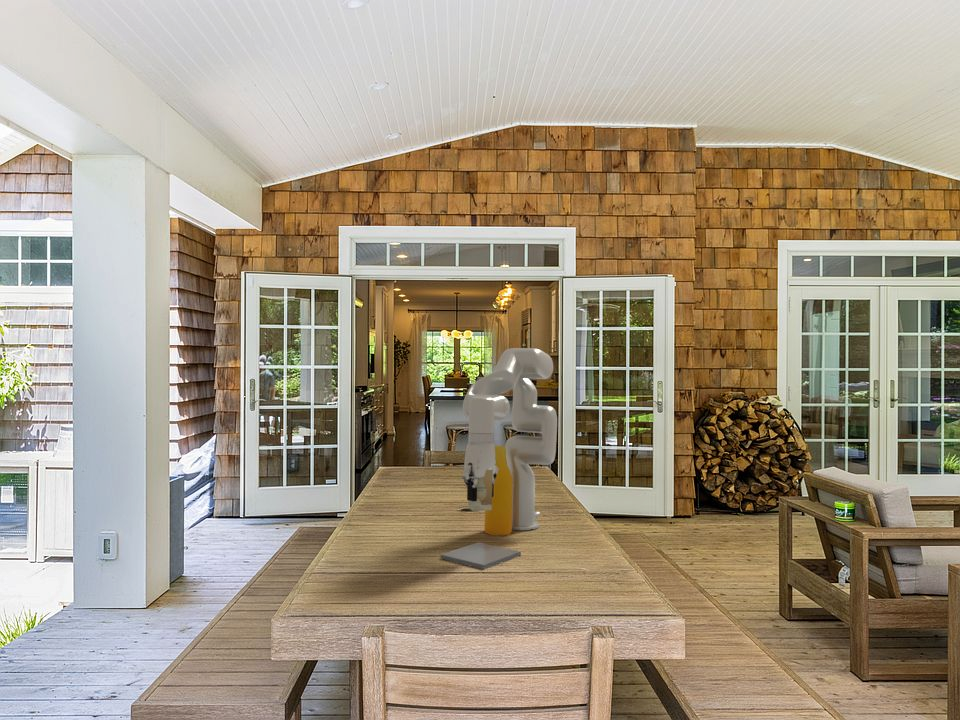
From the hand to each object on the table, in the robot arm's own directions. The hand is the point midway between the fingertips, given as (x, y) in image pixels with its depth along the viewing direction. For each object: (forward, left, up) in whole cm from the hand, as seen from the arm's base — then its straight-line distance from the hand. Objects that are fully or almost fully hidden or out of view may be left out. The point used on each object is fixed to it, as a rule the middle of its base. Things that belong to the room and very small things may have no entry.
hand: (480, 498), depth 207 cm
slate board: (0, +1, -17) cm, 17 cm away
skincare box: (0, 0, -4) cm, 4 cm away
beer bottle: (-27, -13, -17) cm, 35 cm away
